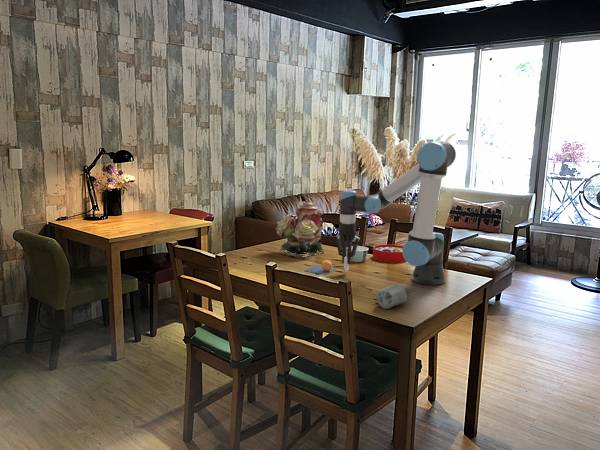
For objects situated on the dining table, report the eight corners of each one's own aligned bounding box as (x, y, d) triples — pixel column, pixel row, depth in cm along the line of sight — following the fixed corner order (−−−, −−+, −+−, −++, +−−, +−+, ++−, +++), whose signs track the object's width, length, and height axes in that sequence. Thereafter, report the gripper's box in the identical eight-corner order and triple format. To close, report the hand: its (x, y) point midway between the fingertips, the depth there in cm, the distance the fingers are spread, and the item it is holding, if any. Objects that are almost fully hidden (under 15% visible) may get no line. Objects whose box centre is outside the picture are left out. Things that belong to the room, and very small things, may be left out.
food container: (341, 259, 279) (341, 247, 278) (357, 256, 286) (357, 244, 285) (356, 263, 269) (357, 251, 268) (372, 260, 277) (373, 248, 275)
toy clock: (408, 245, 290) (411, 253, 271) (407, 255, 291) (411, 263, 272) (372, 243, 292) (373, 251, 273) (372, 253, 293) (373, 262, 274)
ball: (324, 269, 257) (334, 270, 255) (319, 272, 252) (329, 272, 250) (323, 259, 256) (333, 259, 254) (318, 261, 252) (328, 261, 249)
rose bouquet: (271, 250, 298) (271, 199, 293) (316, 246, 309) (317, 197, 304) (287, 260, 275) (287, 205, 269) (335, 256, 286) (336, 203, 281)
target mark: (336, 269, 258) (336, 268, 258) (326, 274, 247) (326, 274, 247) (314, 266, 263) (314, 265, 263) (304, 271, 253) (304, 270, 253)
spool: (390, 305, 193) (386, 280, 196) (372, 310, 200) (369, 286, 203) (414, 307, 201) (410, 283, 204) (396, 312, 208) (393, 288, 211)
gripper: (363, 222, 245) (361, 270, 249) (338, 220, 251) (337, 266, 255) (357, 224, 238) (355, 273, 242) (332, 222, 244) (330, 270, 248)
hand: (346, 270), depth 248 cm, fingers closed
